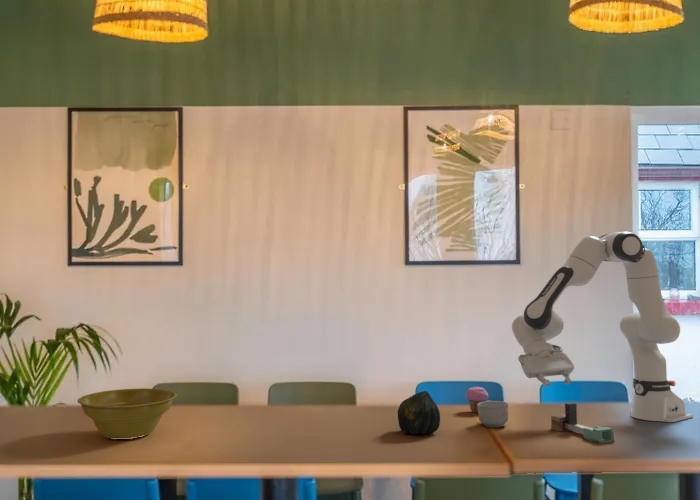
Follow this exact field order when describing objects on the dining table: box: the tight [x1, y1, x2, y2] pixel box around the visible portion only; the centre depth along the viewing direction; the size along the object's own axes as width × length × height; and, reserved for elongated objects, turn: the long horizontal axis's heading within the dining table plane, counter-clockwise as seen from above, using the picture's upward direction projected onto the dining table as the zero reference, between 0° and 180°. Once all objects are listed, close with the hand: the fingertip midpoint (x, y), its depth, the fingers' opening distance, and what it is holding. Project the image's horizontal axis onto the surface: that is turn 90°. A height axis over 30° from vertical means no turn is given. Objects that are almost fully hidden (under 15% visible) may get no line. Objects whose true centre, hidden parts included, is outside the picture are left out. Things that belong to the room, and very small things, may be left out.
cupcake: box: [465, 386, 489, 414], centre depth 251 cm, size 9×9×10 cm
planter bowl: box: [77, 388, 177, 438], centre depth 219 cm, size 32×32×13 cm
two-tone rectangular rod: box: [563, 402, 594, 435], centre depth 216 cm, size 3×15×9 cm, turn 23°
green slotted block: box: [583, 425, 615, 444], centre depth 207 cm, size 6×7×4 cm
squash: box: [397, 390, 441, 436], centre depth 219 cm, size 14×15×15 cm
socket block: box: [550, 413, 570, 432], centre depth 222 cm, size 7×4×4 cm, turn 113°
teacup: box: [477, 399, 509, 428], centre depth 230 cm, size 14×11×8 cm
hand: (558, 384), depth 225 cm, fingers open, 8 cm apart
